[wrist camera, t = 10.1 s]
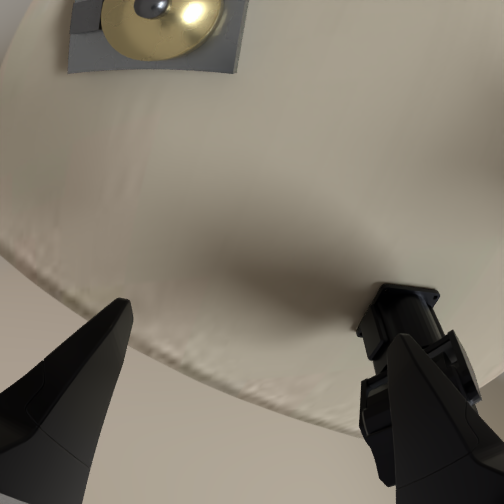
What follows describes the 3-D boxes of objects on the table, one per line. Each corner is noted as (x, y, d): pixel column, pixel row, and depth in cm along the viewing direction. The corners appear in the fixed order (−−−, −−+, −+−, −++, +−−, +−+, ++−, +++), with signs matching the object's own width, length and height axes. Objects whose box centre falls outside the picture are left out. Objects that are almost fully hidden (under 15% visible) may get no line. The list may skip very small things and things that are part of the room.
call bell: (255, -33, 11) (251, -58, 7) (236, 72, 15) (226, 75, 12) (96, -25, 11) (58, -36, 7) (84, 70, 15) (43, 79, 11)
